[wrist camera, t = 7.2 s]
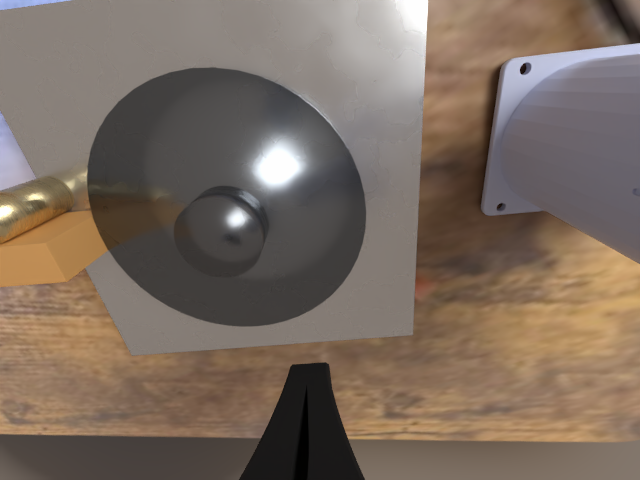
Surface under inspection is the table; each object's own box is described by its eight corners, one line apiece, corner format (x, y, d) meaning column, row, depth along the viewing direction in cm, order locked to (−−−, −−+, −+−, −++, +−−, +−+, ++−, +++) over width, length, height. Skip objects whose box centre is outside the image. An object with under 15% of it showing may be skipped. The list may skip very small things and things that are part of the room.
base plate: (419, -36, 13) (476, -108, 8) (407, 320, 22) (431, 386, 17) (-25, 25, 14) (-208, -7, 9) (136, 340, 23) (87, 408, 18)
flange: (358, 52, 13) (372, 39, 10) (366, 306, 20) (376, 356, 16) (-30, 94, 14) (-154, 98, 10) (97, 324, 20) (48, 377, 17)
